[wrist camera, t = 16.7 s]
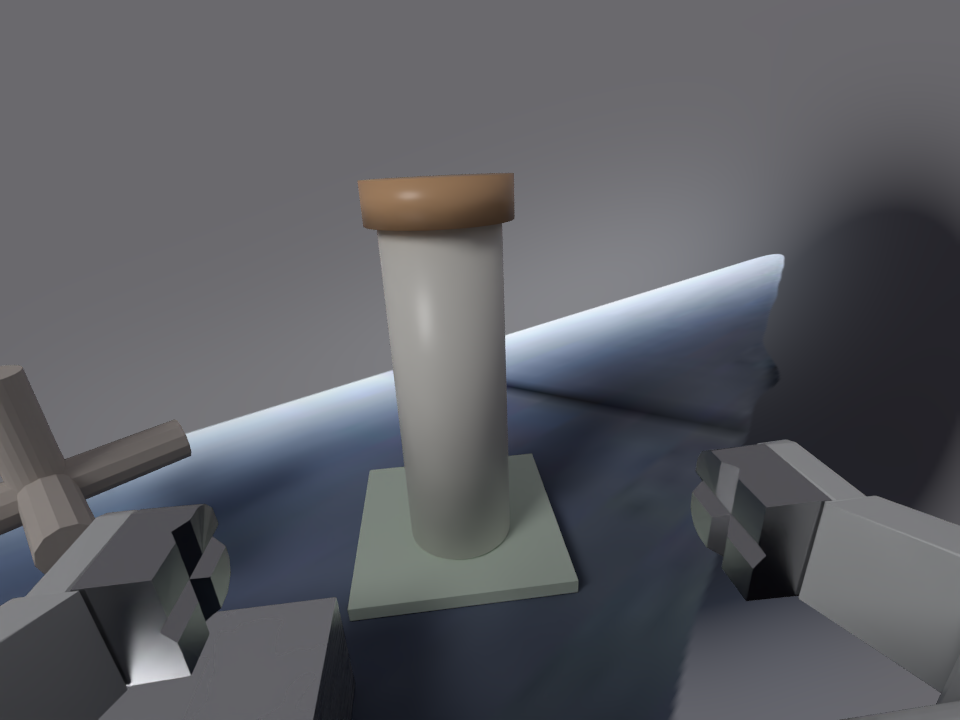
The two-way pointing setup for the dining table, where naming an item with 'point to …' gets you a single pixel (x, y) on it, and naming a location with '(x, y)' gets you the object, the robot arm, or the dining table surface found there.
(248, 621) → the housing block
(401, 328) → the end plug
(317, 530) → the dining table surface
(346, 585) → the dining table surface
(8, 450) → the pipe connector
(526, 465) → the rubber mat
